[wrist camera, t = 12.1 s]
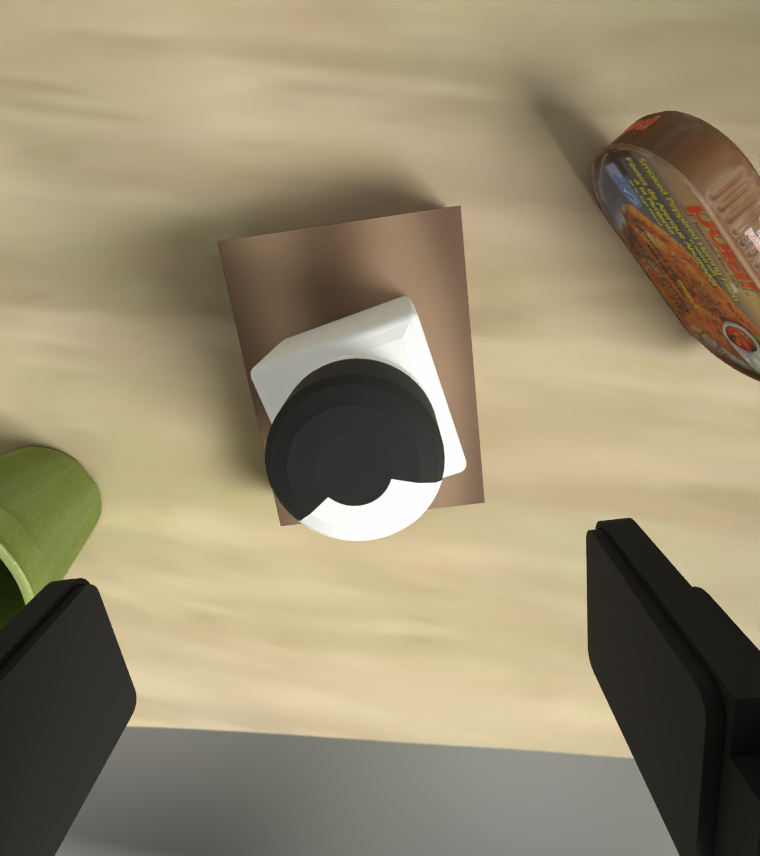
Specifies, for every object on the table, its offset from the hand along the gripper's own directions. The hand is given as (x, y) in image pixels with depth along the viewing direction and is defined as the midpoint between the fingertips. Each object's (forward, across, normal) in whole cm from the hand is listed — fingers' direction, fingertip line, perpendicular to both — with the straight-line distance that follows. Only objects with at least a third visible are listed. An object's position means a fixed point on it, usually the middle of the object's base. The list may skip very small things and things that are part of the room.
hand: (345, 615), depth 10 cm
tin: (+24, -17, -4) cm, 30 cm away
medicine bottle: (+20, 0, 0) cm, 20 cm away
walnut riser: (+23, +1, 0) cm, 23 cm away
